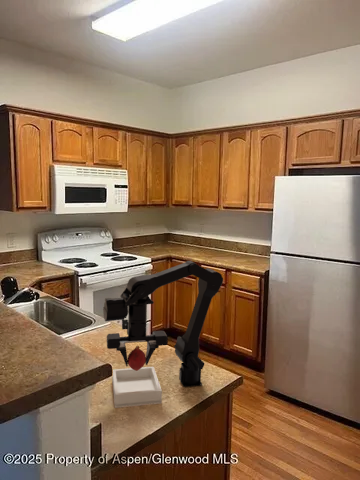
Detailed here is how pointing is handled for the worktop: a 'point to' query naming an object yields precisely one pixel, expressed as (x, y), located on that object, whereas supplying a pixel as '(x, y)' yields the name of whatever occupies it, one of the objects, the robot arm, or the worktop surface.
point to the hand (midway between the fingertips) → (136, 365)
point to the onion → (136, 359)
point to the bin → (136, 387)
